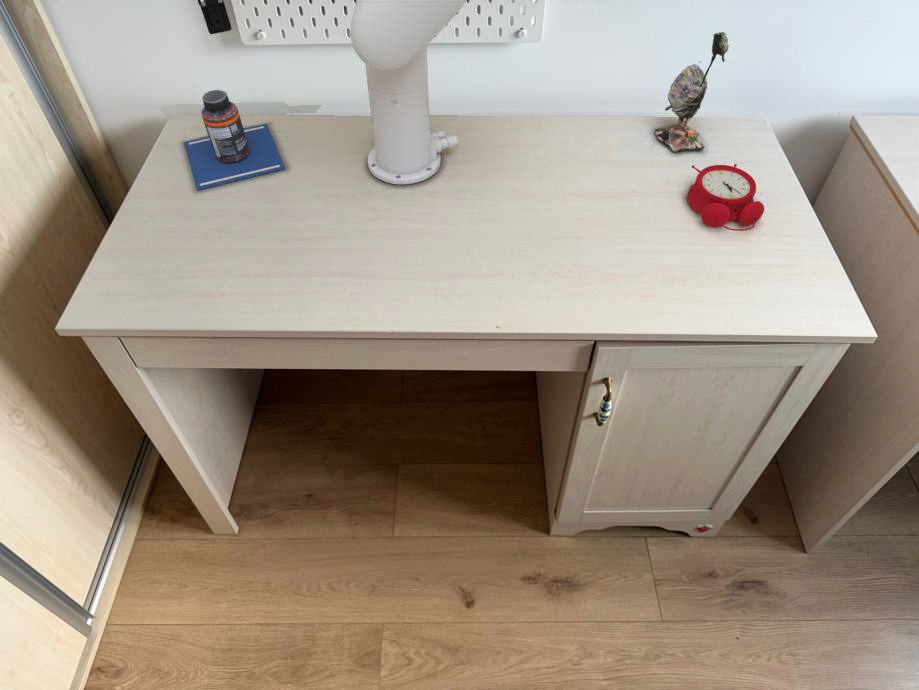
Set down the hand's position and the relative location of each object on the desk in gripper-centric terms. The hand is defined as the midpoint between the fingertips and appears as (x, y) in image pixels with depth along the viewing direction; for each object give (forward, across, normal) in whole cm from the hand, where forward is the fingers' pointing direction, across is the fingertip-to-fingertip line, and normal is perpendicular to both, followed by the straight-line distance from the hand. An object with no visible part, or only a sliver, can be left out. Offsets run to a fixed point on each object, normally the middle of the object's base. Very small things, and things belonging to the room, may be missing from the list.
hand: (215, 17), depth 99 cm
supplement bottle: (+25, +4, +4) cm, 25 cm away
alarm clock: (+28, -42, -66) cm, 83 cm away
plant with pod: (+27, -22, -71) cm, 79 cm away
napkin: (+25, +4, +4) cm, 25 cm away
